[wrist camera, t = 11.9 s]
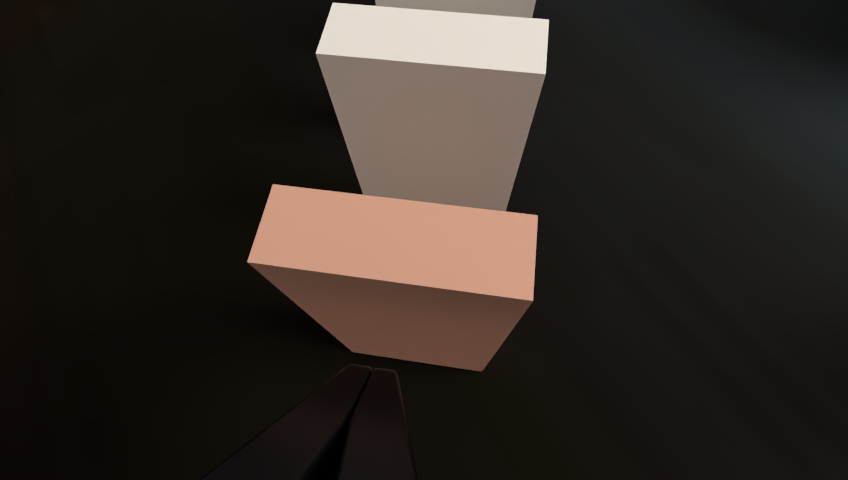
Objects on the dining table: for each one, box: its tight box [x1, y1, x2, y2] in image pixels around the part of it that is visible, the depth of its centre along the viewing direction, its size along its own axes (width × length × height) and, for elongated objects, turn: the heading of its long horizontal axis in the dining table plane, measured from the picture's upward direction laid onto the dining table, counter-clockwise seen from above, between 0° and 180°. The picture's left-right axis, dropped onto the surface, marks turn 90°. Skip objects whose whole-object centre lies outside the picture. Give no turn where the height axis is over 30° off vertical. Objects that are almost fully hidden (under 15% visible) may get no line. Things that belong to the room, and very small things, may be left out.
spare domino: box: [247, 184, 538, 372], centre depth 12 cm, size 2×5×10 cm, turn 82°
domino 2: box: [316, 3, 549, 211], centre depth 14 cm, size 2×5×10 cm, turn 81°
